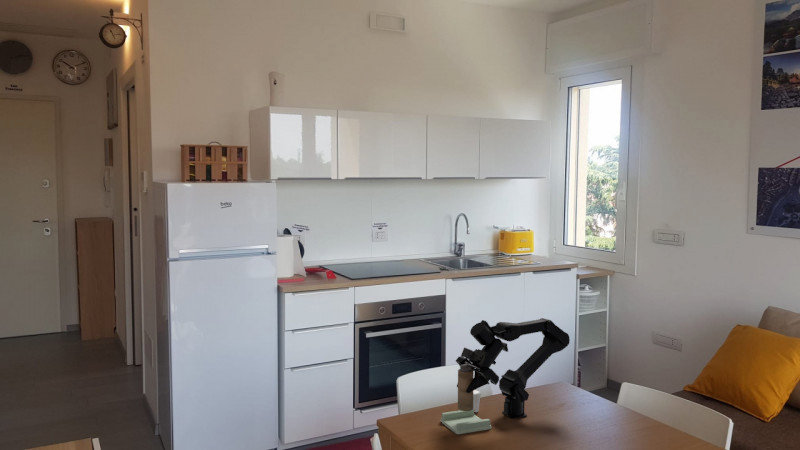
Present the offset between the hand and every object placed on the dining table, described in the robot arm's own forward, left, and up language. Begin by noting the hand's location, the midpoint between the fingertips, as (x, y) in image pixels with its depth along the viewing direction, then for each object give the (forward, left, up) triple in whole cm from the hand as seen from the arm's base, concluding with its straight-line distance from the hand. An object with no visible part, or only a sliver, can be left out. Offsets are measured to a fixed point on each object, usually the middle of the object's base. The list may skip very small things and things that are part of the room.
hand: (462, 389), depth 206 cm
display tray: (-1, 0, -12) cm, 12 cm away
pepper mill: (-1, 0, -7) cm, 7 cm away
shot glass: (-10, -12, -13) cm, 20 cm away
